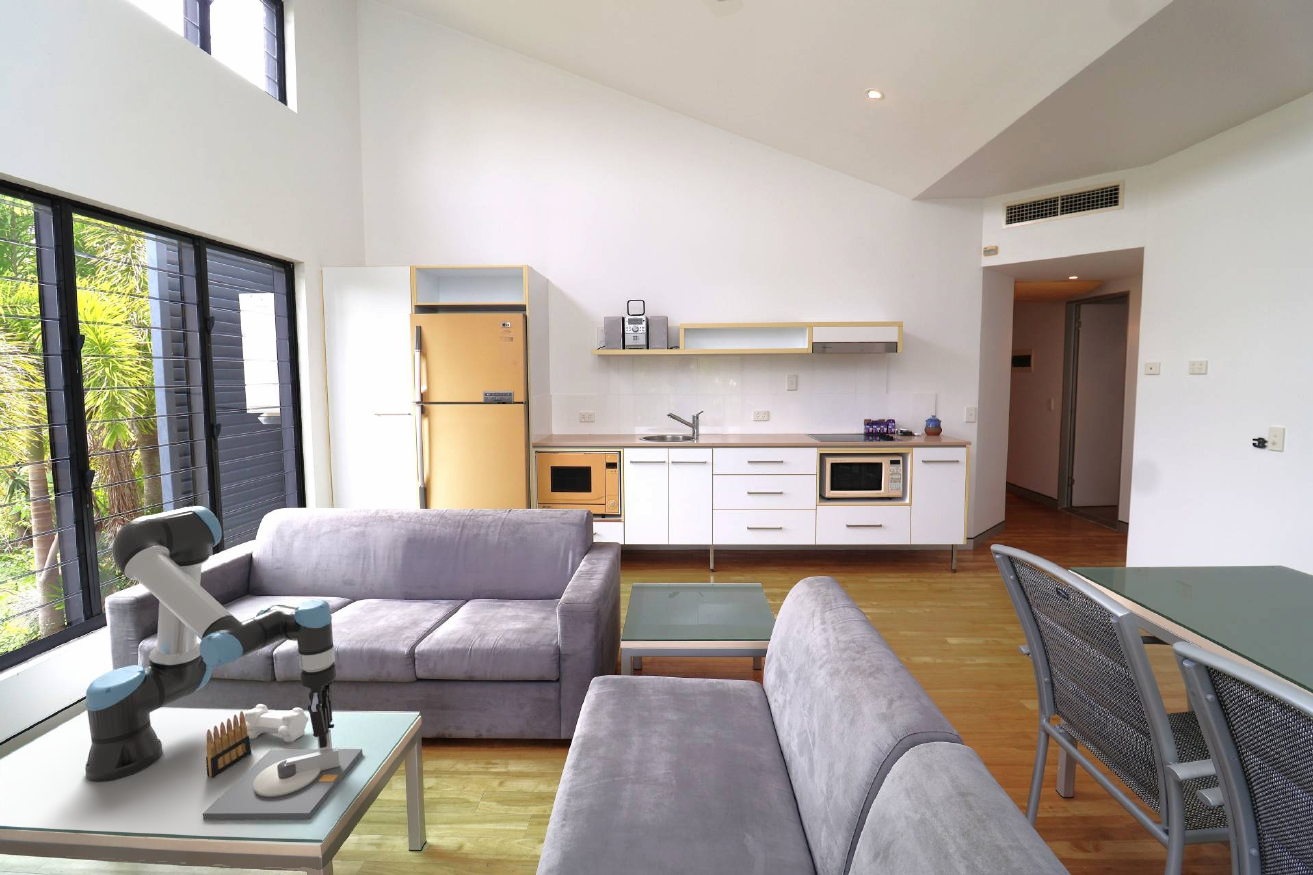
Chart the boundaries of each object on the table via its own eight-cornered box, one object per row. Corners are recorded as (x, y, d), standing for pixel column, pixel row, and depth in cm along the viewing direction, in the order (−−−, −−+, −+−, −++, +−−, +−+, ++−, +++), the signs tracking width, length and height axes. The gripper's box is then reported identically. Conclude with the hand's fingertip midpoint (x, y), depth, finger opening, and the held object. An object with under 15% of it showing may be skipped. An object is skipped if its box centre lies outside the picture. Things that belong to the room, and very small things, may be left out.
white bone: (310, 733, 177) (310, 703, 177) (286, 748, 169) (286, 717, 169) (264, 728, 181) (263, 699, 180) (238, 743, 172) (237, 712, 172)
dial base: (203, 819, 143) (202, 812, 142) (271, 754, 166) (270, 748, 166) (309, 819, 142) (309, 812, 142) (362, 754, 166) (362, 748, 165)
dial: (248, 803, 145) (247, 786, 144) (258, 769, 158) (257, 752, 157) (338, 781, 152) (336, 764, 151) (340, 749, 165) (339, 734, 164)
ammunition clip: (212, 778, 157) (207, 731, 156) (207, 777, 158) (201, 730, 157) (251, 753, 168) (247, 709, 166) (246, 752, 168) (241, 708, 167)
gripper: (308, 655, 161) (316, 744, 164) (292, 680, 149) (301, 775, 151) (340, 651, 163) (348, 739, 166) (328, 675, 150) (336, 769, 153)
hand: (326, 756), depth 158 cm, fingers closed
